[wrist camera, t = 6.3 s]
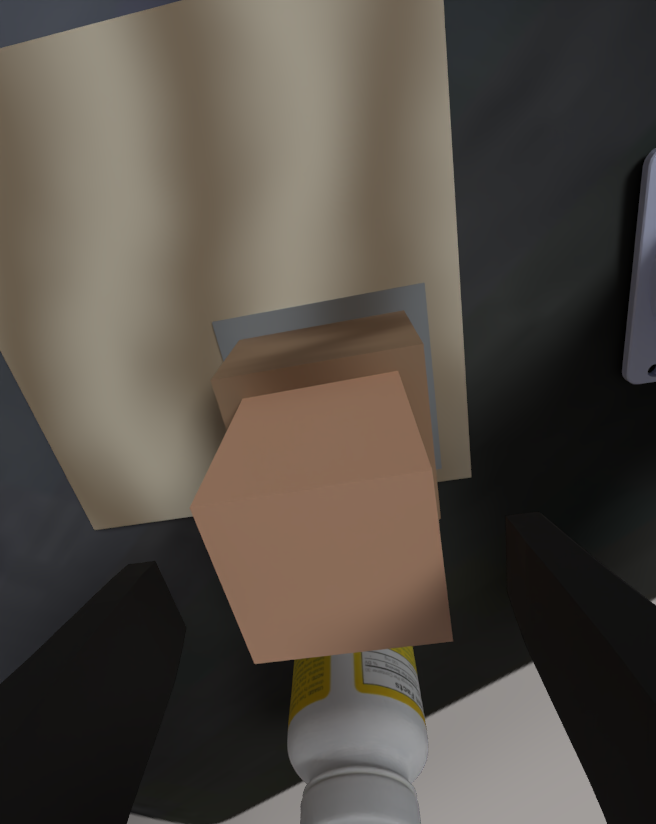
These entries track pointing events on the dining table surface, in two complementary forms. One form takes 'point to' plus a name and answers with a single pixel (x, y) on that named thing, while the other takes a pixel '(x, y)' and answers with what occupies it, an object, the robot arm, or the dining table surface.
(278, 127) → the board
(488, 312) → the dining table surface
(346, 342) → the walnut block
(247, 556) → the terracotta block
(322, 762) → the supplement bottle
